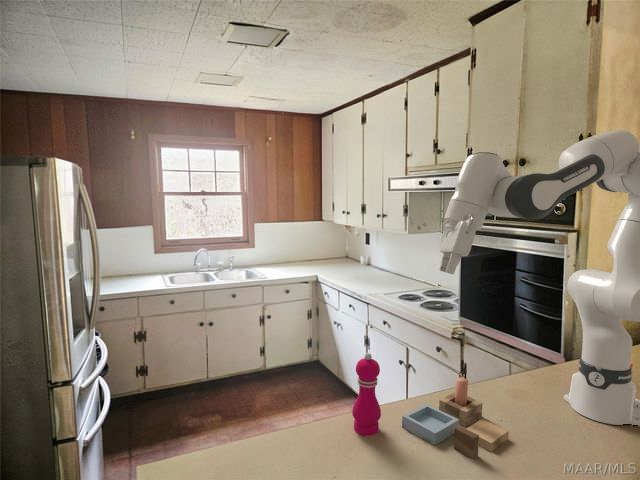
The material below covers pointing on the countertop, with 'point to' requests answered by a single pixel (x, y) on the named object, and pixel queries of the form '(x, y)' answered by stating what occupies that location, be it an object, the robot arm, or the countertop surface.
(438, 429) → the tray
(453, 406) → the socket block
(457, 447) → the block
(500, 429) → the tan wooden cuboid
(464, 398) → the dowel
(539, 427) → the countertop surface
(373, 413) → the pepper mill
